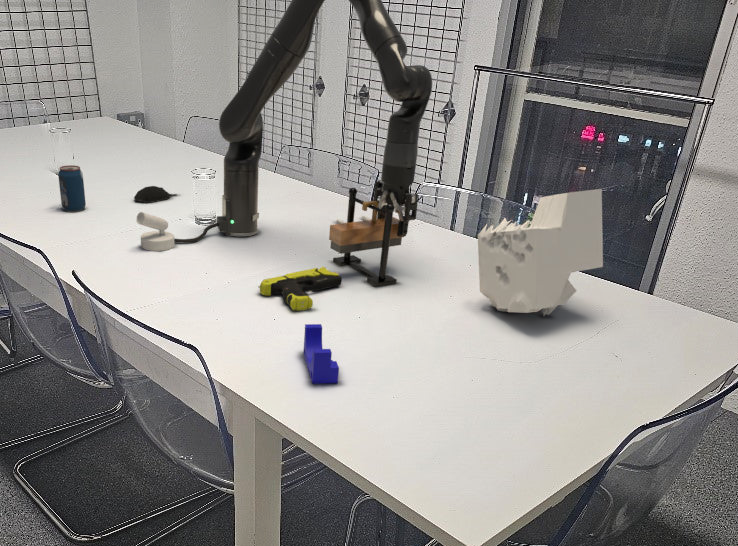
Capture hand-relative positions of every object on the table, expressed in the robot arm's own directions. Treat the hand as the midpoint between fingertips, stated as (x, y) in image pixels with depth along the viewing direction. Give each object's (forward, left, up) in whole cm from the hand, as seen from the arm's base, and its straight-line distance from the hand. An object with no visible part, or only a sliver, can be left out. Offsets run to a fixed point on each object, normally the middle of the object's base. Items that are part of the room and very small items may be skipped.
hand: (391, 231), depth 179 cm
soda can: (-76, +61, -10) cm, 98 cm away
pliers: (+5, +33, -10) cm, 35 cm away
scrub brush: (-7, -2, -3) cm, 7 cm away
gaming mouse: (-51, +70, -10) cm, 87 cm away
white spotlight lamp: (-55, +24, -10) cm, 60 cm away
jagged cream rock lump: (+21, -29, -10) cm, 37 cm away
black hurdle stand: (-7, -2, -9) cm, 12 cm away
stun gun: (-24, -14, -10) cm, 29 cm away
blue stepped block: (-31, -49, -10) cm, 58 cm away
